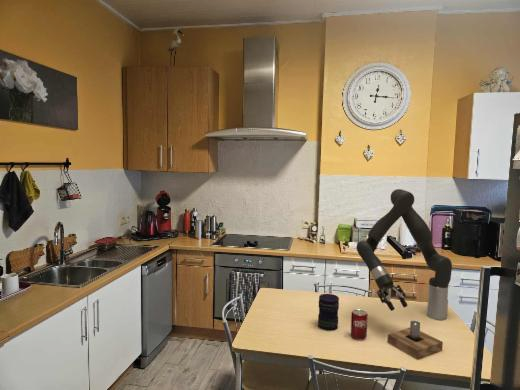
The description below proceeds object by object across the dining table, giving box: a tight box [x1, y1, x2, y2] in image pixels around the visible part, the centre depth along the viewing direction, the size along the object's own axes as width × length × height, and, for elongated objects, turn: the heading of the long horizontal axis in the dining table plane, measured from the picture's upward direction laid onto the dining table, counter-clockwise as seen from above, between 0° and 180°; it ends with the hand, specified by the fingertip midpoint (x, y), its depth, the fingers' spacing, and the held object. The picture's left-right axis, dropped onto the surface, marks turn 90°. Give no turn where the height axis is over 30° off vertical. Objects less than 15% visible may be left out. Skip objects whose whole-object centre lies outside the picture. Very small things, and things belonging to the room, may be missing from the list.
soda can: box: [350, 308, 369, 341], centre depth 168 cm, size 7×7×12 cm
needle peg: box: [409, 320, 421, 342], centre depth 160 cm, size 4×4×11 cm
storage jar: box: [317, 293, 340, 332], centre depth 178 cm, size 10×10×15 cm
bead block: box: [386, 327, 444, 361], centre depth 160 cm, size 16×16×4 cm
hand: (399, 308), depth 167 cm, fingers open, 8 cm apart
